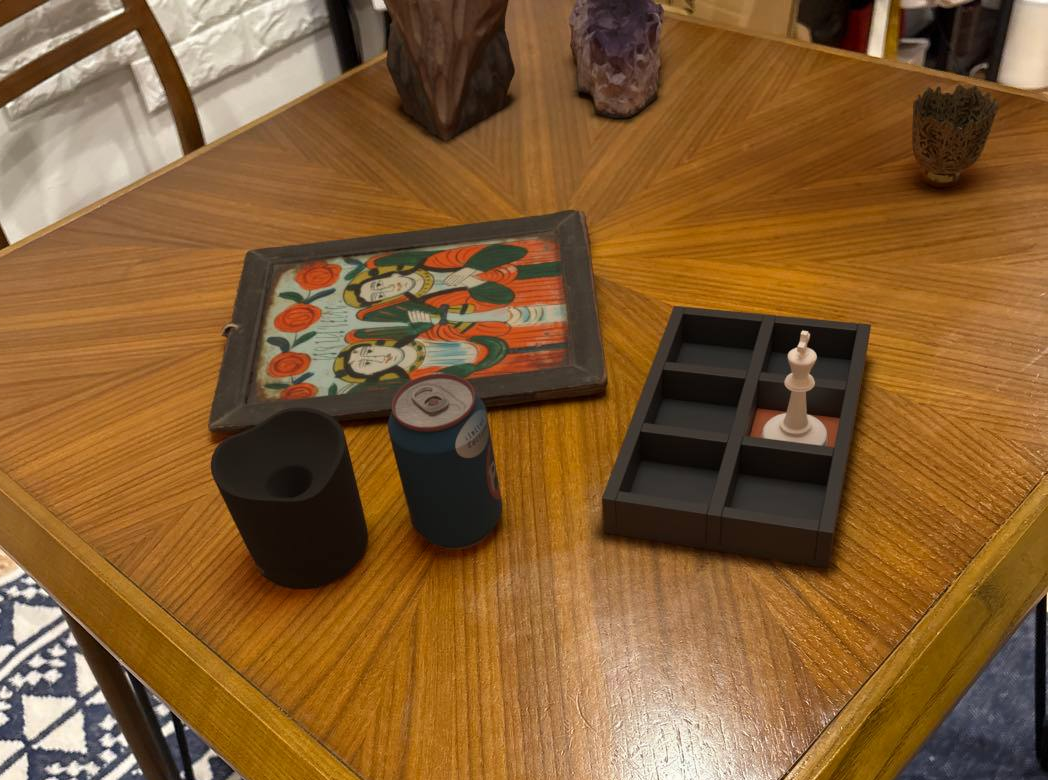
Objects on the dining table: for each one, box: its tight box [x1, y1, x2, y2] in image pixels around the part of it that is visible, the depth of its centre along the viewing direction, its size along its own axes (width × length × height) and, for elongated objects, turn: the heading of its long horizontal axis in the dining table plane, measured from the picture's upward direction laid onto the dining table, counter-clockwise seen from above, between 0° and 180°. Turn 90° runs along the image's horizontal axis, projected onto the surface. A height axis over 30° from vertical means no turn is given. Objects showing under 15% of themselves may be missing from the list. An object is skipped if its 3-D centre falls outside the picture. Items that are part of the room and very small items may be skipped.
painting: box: [207, 209, 609, 434], centre depth 101 cm, size 28×35×2 cm
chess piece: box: [761, 331, 828, 446], centre depth 80 cm, size 5×5×10 cm
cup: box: [911, 84, 1000, 188], centre depth 105 cm, size 8×7×8 cm
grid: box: [601, 305, 872, 569], centre depth 84 cm, size 16×24×4 cm
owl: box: [382, 0, 516, 142], centre depth 123 cm, size 13×13×20 cm
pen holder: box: [210, 407, 369, 591], centre depth 79 cm, size 9×9×10 cm
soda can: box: [387, 374, 503, 550], centre depth 79 cm, size 7×7×12 cm
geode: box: [568, 0, 665, 119], centre depth 127 cm, size 20×12×10 cm, turn 2°
